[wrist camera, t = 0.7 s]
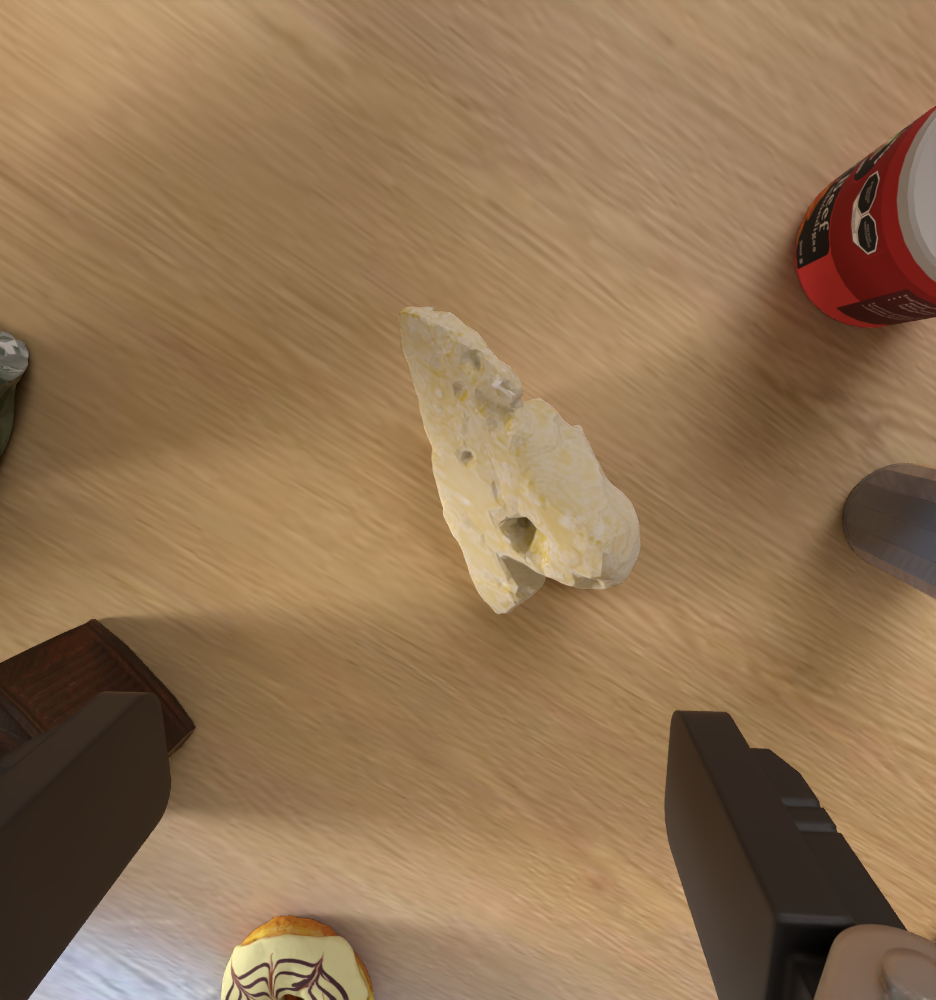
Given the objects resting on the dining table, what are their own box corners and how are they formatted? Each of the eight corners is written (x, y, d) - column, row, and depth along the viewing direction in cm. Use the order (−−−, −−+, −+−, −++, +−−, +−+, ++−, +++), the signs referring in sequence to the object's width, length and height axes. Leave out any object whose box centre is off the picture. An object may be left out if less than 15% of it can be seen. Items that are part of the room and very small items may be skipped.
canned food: (881, 135, 32) (1054, 4, 21) (982, 254, 32) (1203, 186, 21) (756, 247, 33) (857, 179, 22) (853, 360, 34) (999, 346, 23)
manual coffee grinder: (112, 817, 44) (-172, 1098, 27) (2, 703, 44) (-362, 913, 26) (259, 688, 41) (47, 910, 24) (142, 564, 41) (-163, 696, 23)
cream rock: (620, 593, 39) (750, 426, 28) (553, 671, 35) (672, 512, 24) (443, 449, 44) (491, 254, 32) (365, 503, 40) (388, 301, 28)
